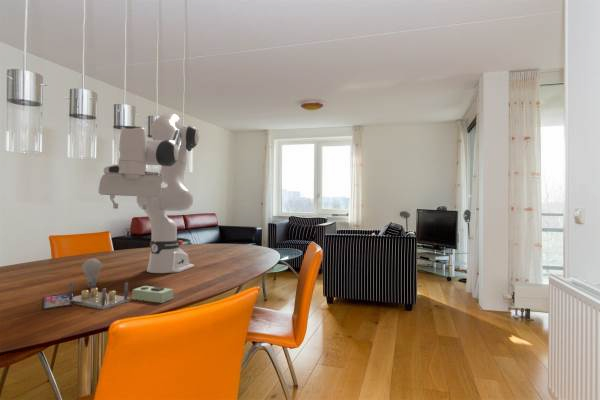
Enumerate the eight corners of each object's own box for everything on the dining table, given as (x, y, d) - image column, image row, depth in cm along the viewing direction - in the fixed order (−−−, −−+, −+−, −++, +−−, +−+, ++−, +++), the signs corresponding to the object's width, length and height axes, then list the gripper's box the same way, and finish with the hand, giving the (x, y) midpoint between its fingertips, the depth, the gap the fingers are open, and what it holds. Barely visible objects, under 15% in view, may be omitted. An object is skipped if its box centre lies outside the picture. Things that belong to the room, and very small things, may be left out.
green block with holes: (144, 295, 119) (144, 284, 119) (173, 299, 116) (173, 287, 116) (132, 299, 114) (132, 287, 114) (162, 304, 110) (162, 291, 110)
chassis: (94, 294, 118) (95, 277, 118) (130, 300, 112) (131, 282, 112) (65, 302, 109) (65, 283, 109) (103, 309, 103) (103, 289, 103)
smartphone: (42, 308, 101) (42, 296, 113) (42, 312, 101) (42, 299, 113) (72, 304, 105) (70, 293, 117) (72, 307, 105) (69, 295, 117)
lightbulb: (104, 286, 128) (105, 257, 128) (90, 290, 122) (91, 260, 122) (92, 285, 130) (92, 256, 130) (77, 289, 124) (78, 259, 124)
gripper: (161, 173, 130) (159, 209, 129) (99, 168, 119) (97, 208, 119) (164, 172, 125) (162, 209, 124) (99, 167, 114) (98, 208, 113)
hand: (130, 208), depth 121 cm, fingers open, 8 cm apart
